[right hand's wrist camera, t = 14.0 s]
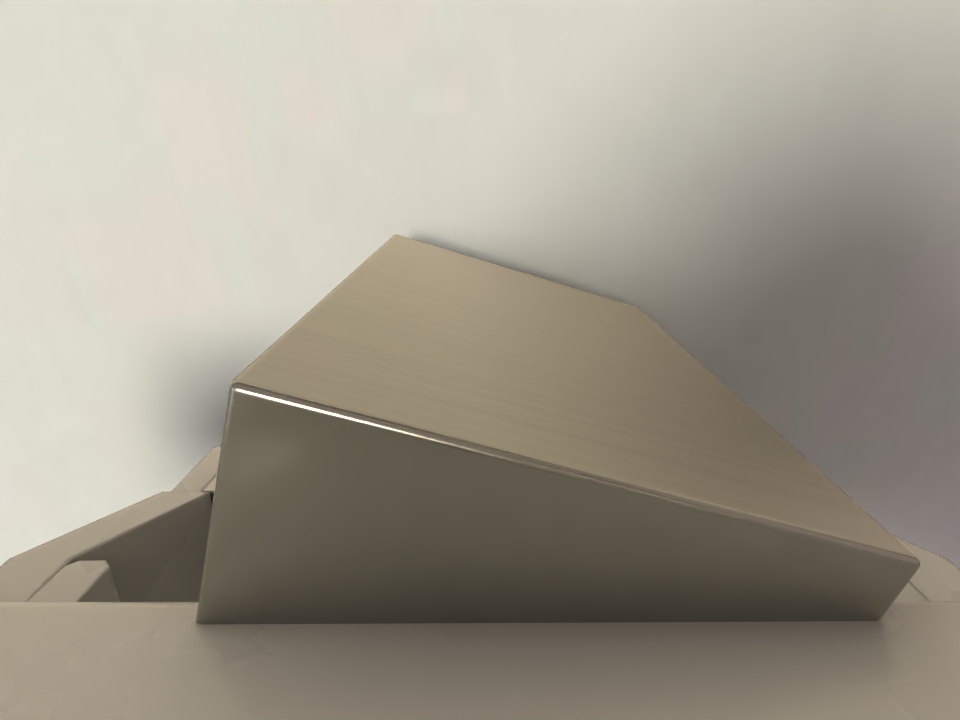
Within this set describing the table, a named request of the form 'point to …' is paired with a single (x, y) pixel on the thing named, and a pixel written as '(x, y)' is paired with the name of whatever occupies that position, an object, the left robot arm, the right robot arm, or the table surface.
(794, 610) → the box
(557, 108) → the table surface
